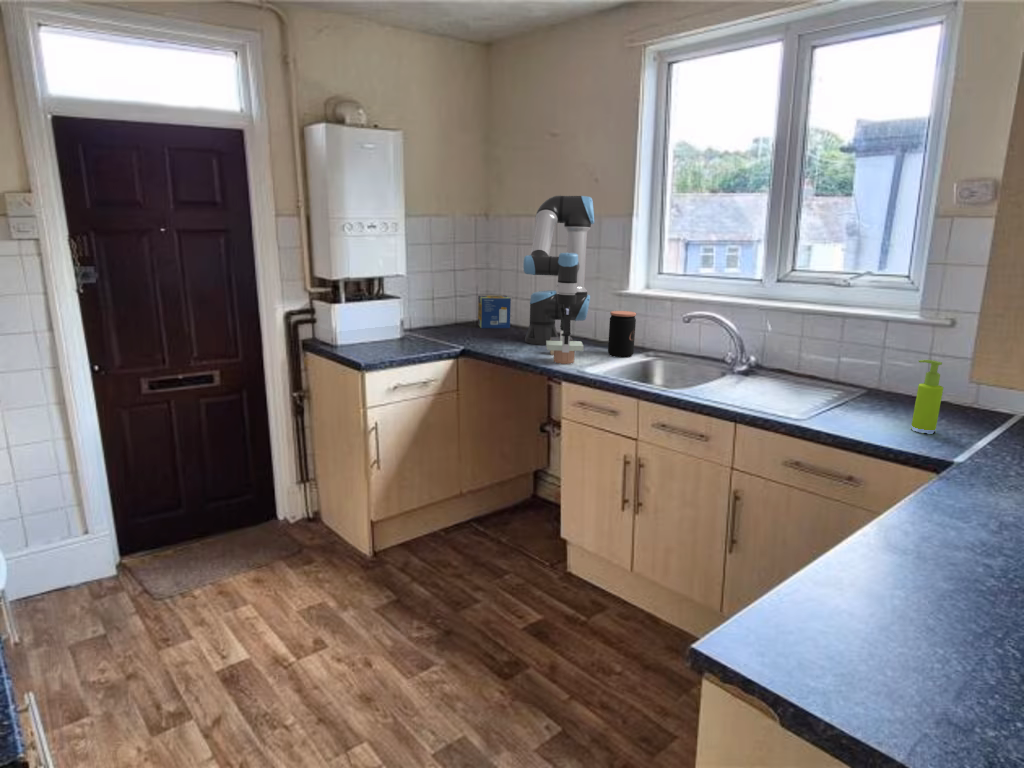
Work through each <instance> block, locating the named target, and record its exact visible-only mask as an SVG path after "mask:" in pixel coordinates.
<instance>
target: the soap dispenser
mask: <svg viewBox="0 0 1024 768" xmlns="http://www.w3.org/2000/svg"><path fill="white" fill-rule="evenodd" d="M918 363H927V364H930V368H929V371H927V372H925V376H924V382H923V383H919V384H918V386H917V392H916V398H915V403H914V408H913V415H912V420H911V425H912V426H913V427H915V428H918V429H924V430H935V429H936V430H937V425H938V419H939V414H940V409H941V403H942V398H943V392H944V387H943V386H942V385H940V378H941V373H939V371H938V369H939V366H942V364H943V362H941V361H939V360H938V361H937V360H932V359H920V360H918Z"/></svg>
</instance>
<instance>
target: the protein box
mask: <svg viewBox="0 0 1024 768" xmlns="http://www.w3.org/2000/svg"><path fill="white" fill-rule="evenodd" d="M477 298H478V299H477V304H478V305H477V325H478V327H479V328H481V329H510V328H511V309H512V308H511V306H512V305H511V300H512V299H511V297H509V296H508V295H478V297H477Z"/></svg>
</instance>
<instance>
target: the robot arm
mask: <svg viewBox="0 0 1024 768" xmlns="http://www.w3.org/2000/svg"><path fill="white" fill-rule="evenodd" d="M535 224H536V225H535V230H534V236H533V241H532V246H531V251H530V254H529V255H525V256H524V258H523V262H522V263H523V266H522V267H523V272H524V274H525V275H533V276H557V284H556V285H555V287H556V288H557V290H553V289H551V290H550V289H549V290H539V291H534V292H533V293H532V294H531V295H530V301H529V306H530V307H529V324H528V325H529V326H528V329H527V332H526V334H525V336H524V338H525V339H524V342H525V343H527V344H532V345H538V346H539V345H540V346H541V345H544V346H546V341H550V337H560V341H562V352H566V353H569V344H570V337H571V321H573V322H583V321H585V320H586V319H587V317H588V312H589V309H590V307H589V306H590V302H591V295H590V294H588V290H587V289H586V287H585V281H586V279H585V278H586V277H585V276H586V258H587V238H588V237H587V236H588V232H589V231H590V230H591V228H592V227H591V226H592V225H594V224H595V210H594V202H593V198H592V197H591V196H589V195H588V196H586V195H554V196H552V197H549V198H547V199H546V200H545V201H543V202H542V204H541V205H540V206H539V207H538V209H537V211H536V214H535ZM557 224H564V225H563V228H564V229H565V230H566V232H567V233H566V234H567V236H566V252H560V253H559V254H558V256H555V255H554V256H551V255H550V253H551V248H552V241H553V235H554V228H555V226H556V225H557ZM556 321H560V325H559V326H560V333H559V334H560V336H559V335H558V332H557V327H556Z"/></svg>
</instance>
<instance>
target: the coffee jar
mask: <svg viewBox="0 0 1024 768" xmlns="http://www.w3.org/2000/svg"><path fill="white" fill-rule="evenodd" d="M609 315H610V318H609V328H608V340H607V341H608V344H607V353H608V354H609V356H610V355H611V357H613V356H615V357H614V358H629V357H628V356H631V355H632V356H633V355H634V353H635V352H634V351H635V340H636V339H635V337H636V325H637V318H636V316H637V313H636V312H634V311H631V310H630V311H629V310H612V311H610V313H609ZM632 356H631V357H632Z"/></svg>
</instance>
